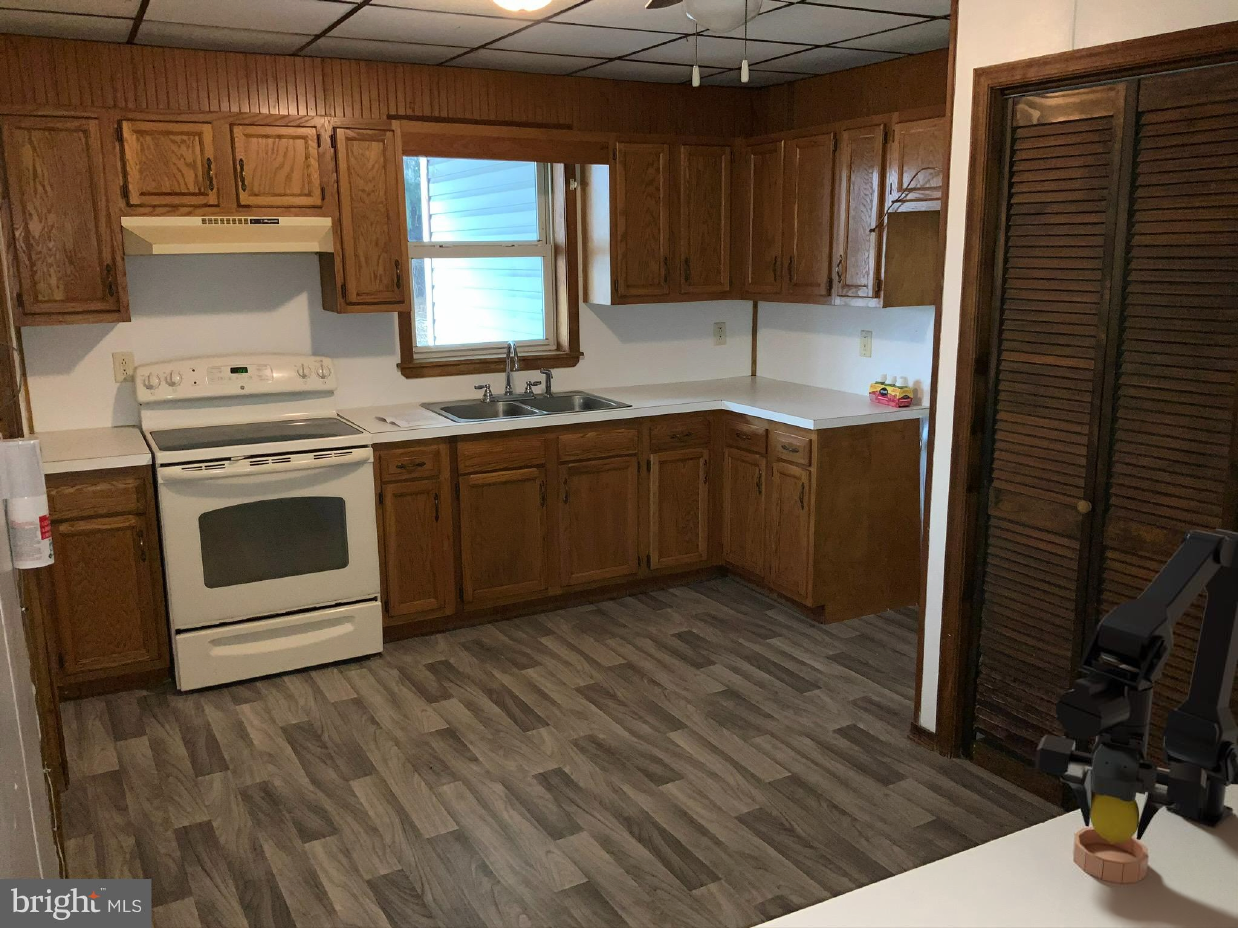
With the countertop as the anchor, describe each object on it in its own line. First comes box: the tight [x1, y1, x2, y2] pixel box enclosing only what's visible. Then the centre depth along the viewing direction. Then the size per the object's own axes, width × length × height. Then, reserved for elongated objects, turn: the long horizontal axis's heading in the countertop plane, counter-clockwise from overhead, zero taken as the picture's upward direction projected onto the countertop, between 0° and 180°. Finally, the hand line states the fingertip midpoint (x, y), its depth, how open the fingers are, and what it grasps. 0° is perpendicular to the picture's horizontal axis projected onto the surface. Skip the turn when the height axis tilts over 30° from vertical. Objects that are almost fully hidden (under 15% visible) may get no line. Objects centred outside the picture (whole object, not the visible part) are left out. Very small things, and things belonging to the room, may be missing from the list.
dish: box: [1072, 826, 1149, 884], centre depth 127 cm, size 8×8×2 cm
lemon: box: [1090, 793, 1140, 844], centre depth 126 cm, size 6×6×8 cm
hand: (1112, 831), depth 126 cm, fingers closed on lemon, 5 cm apart
